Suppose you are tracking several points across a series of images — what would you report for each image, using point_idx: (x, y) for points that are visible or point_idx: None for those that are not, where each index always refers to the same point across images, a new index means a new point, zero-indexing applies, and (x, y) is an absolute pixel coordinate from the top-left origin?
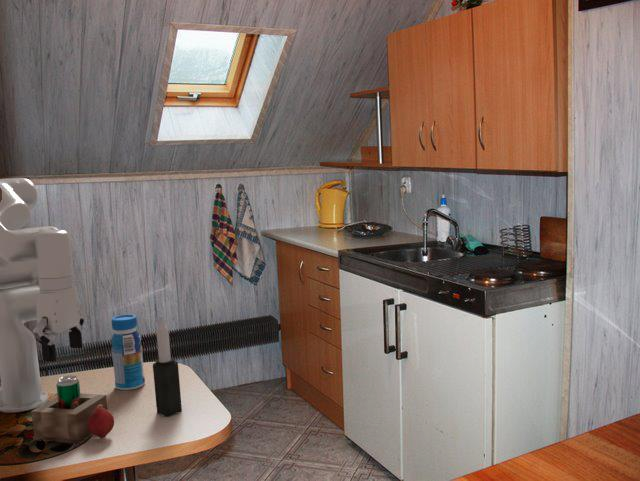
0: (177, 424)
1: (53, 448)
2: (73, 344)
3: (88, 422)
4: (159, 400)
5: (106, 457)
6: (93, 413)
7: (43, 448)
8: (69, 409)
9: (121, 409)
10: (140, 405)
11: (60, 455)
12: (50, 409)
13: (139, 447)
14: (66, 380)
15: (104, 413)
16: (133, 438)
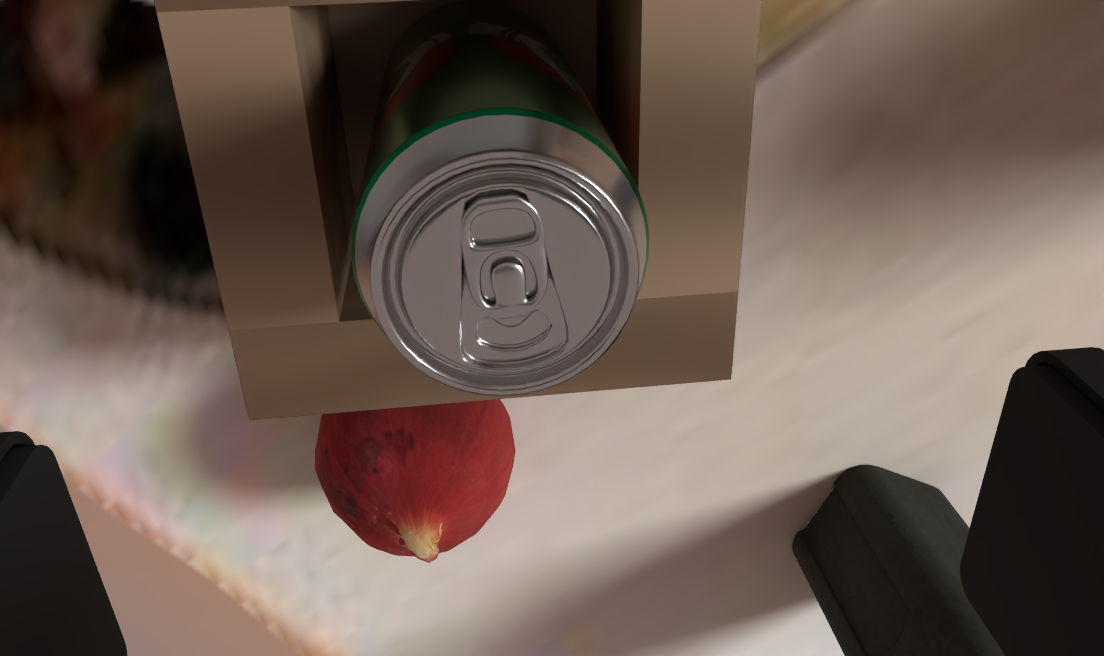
0: (692, 647)
1: (152, 160)
2: (1042, 495)
3: (334, 426)
4: (862, 570)
5: (199, 562)
6: (359, 498)
7: (116, 78)
8: (328, 287)
9: (912, 200)
10: (985, 292)
11: (88, 293)
12: (258, 84)
13: (373, 637)
14: (430, 330)
15: (401, 554)
16: (468, 550)
